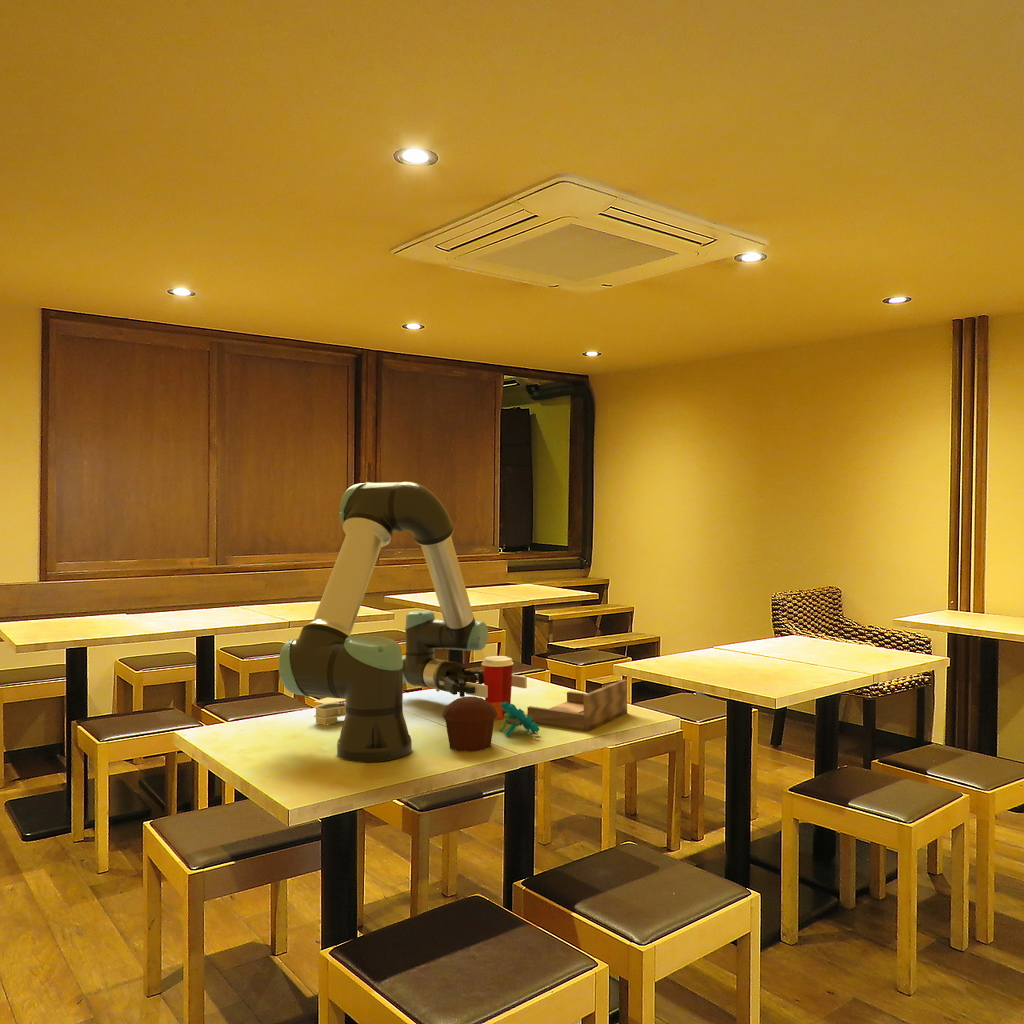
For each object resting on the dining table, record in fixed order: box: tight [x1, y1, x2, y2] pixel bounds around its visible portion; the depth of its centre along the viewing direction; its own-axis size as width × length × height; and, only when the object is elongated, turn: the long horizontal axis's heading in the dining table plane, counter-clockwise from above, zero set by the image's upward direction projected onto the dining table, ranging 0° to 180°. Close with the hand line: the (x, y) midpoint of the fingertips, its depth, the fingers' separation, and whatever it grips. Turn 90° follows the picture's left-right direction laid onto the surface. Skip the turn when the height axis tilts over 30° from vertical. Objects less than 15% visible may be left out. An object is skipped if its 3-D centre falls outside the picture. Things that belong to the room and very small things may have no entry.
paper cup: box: [481, 655, 514, 720], centre depth 205 cm, size 8×8×14 cm
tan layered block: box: [313, 697, 346, 726], centre depth 201 cm, size 10×9×6 cm
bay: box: [527, 679, 628, 732], centre depth 203 cm, size 20×16×8 cm
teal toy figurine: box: [499, 702, 540, 737], centre depth 189 cm, size 11×6×10 cm
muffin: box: [441, 696, 497, 753], centre depth 180 cm, size 12×11×10 cm
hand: (506, 687), depth 203 cm, fingers open, 13 cm apart
